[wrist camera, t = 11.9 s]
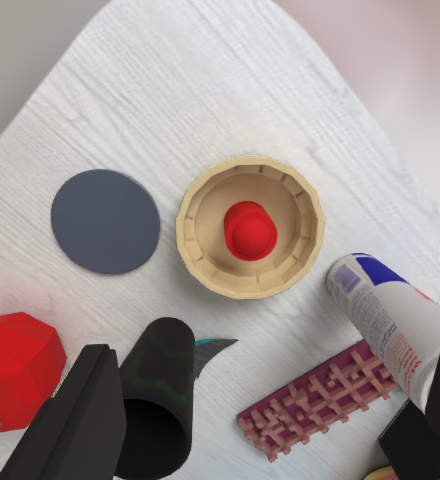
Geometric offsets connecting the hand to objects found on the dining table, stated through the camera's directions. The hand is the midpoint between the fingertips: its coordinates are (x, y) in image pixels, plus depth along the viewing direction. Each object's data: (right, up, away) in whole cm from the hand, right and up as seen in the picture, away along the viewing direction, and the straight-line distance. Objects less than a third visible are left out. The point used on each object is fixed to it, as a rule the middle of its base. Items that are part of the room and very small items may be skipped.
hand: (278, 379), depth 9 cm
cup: (-7, -7, +24) cm, 26 cm away
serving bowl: (+1, +6, +20) cm, 21 cm away
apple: (-22, -7, +24) cm, 33 cm away
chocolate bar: (+10, -14, +27) cm, 32 cm away
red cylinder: (+1, +6, +20) cm, 21 cm away
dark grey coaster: (-12, +6, +20) cm, 24 cm away
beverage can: (+12, 0, +22) cm, 25 cm away
